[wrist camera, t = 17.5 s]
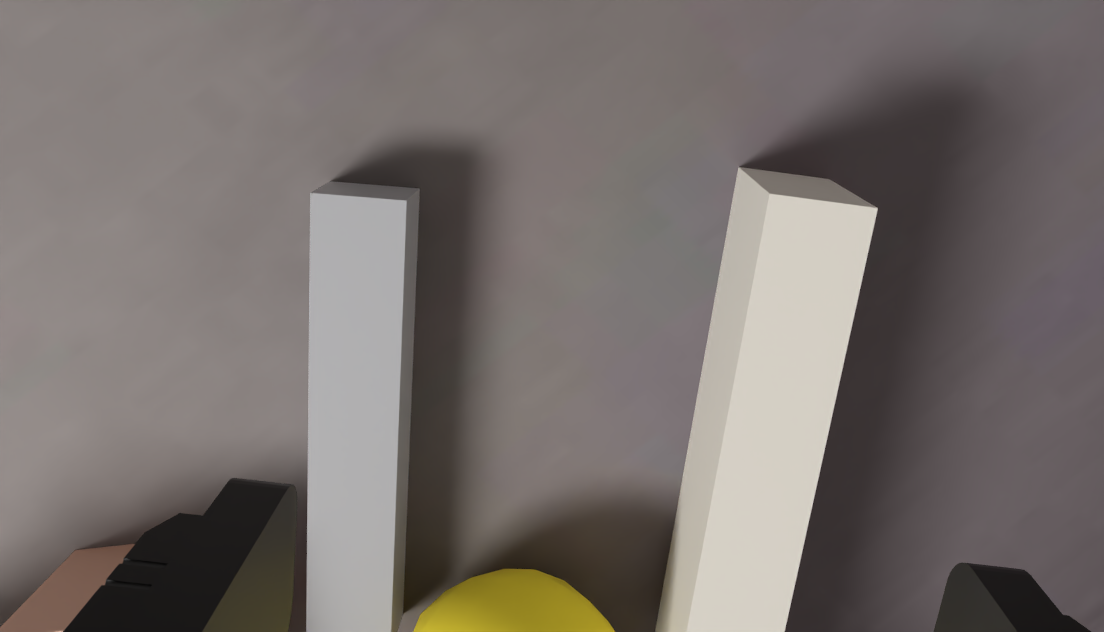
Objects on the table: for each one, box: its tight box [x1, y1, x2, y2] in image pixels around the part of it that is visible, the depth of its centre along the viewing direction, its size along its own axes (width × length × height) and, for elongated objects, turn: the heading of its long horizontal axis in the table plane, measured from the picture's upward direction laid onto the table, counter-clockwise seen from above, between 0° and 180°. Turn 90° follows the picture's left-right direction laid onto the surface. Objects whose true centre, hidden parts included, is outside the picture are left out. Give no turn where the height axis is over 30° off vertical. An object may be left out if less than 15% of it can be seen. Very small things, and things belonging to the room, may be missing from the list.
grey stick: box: [306, 181, 420, 632], centre depth 30 cm, size 14×3×2 cm, turn 176°
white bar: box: [655, 167, 878, 632], centre depth 29 cm, size 20×9×5 cm, turn 173°
